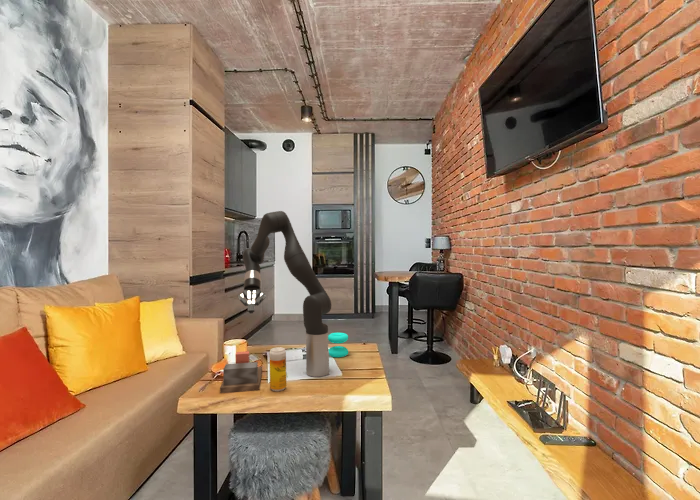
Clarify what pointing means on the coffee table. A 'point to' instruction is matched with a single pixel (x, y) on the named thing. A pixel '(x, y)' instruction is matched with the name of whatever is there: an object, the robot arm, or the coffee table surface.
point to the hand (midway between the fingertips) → (251, 312)
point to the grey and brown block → (241, 377)
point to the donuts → (338, 350)
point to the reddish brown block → (242, 357)
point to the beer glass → (277, 369)
